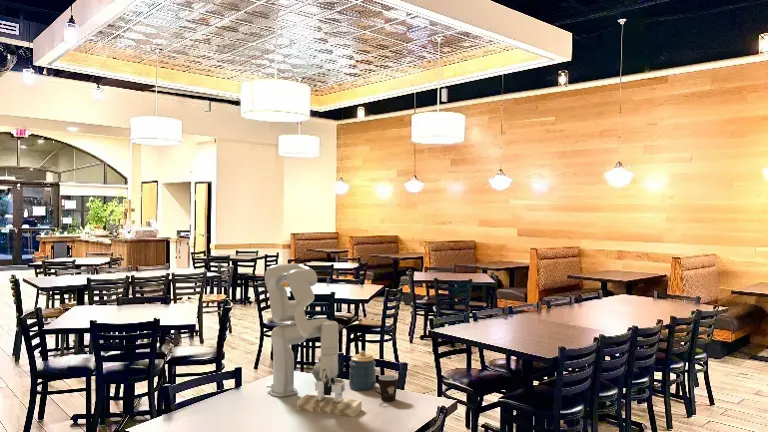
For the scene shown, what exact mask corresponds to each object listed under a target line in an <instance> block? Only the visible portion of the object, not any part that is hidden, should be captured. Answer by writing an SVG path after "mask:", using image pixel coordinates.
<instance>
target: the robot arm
mask: <svg viewBox="0 0 768 432" xmlns="http://www.w3.org/2000/svg"><path fill="white" fill-rule="evenodd" d="M264 283H265V287H266V289H267V292H268V297H269V303H270V304H269V306H270V311H271V313H270V314H271V318H272V320H273V321H274V322H275V323H285V322H291V323H288V324H282V325H277V326H275V327H274V328H273V329H272V331H271V333H270V338H271V344H272V355H273V356H272V359H273V360H272V362H273V363H272V367H273V369H272V376H273V377H272V379H273V380H272V382H269V381H268V382H266V385H265V388H269V389H270V390H269V394H270V396H273V397H279V398H282V397H283V398H285V397H292V396H294V395H296V394H297V393H298V389H297V388H295V384H294V383H295V375H294V374H295V371H294V370H295V369H294V368H295V359H294V358H295V355H294V354H295V353H294V352H293V350H292V348H291V346H292V345H297V344H301V343H303V342H305V341H306V340H307V339H312V338H316V337H318V338H319V337H320V356H321V359H320V379H322V382H323V386H324V395H325V396H327V397H330V396H332V392H331V386H330V383H331V382H335V383H337V376H338V375H339V356H338V355H339V323H338V322H337V321H335V320H329V319H328V318H322V317H321V318H315V319H310V320H309V319H307V316H306V312H305V308H306V307H308V306H309V305H310V304H311V303H313V302H314V300H315V294H314V292H313V290H312V288H311V287H313V286H316V284H317V283H318V275H317V273H316V271H315V270H314V269H312V268H311V267H309V266H306V265H304V264H303V265H302V264H300V263H283V264H282V263H280V264H275V265H270V266H269V267H268V268H267V269H266V271H265V272H264ZM282 283H287V284H288V286H289V289H290V291H291V294H292V296H293V297H294V300H289V296H288V291H287V289H286V287H284V285H283V284H282ZM326 377H328V378H326ZM326 380H328V381H326ZM333 393H334V394H335V392H333Z"/></svg>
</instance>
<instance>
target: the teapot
mask: <svg viewBox="0 0 768 432" xmlns="http://www.w3.org/2000/svg"><path fill="white" fill-rule="evenodd" d="M320 359H321V355H320V356H318V361H317V362H316V363H315V364H314V366H313V367H312V376H313V378H314V379H315V381H316V383H317V382H318V381H322V379H320ZM326 378H328V377H326ZM326 381H328V380H326Z"/></svg>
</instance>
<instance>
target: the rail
mask: <svg viewBox="0 0 768 432" xmlns="http://www.w3.org/2000/svg"><path fill="white" fill-rule="evenodd" d="M362 401H363V400H360V399H350V398H343V397H342V402H341V403H339V404H336V403H335V396H334V397H333V396H331V397H330V396H325V400H323V401H322V402H318V395H314V394H305V395H304V396H302V397H300V398H299V399H297V400H296V410H297V411H303V412H313V413H318V414H319V413H321V414H328V415H338V416H345V417H352V418H353V417H355V416H357V415H358V413H360V412H361V411H362V406H363V405H362Z"/></svg>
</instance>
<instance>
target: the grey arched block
mask: <svg viewBox="0 0 768 432" xmlns="http://www.w3.org/2000/svg"><path fill="white" fill-rule="evenodd" d="M330 386H331V393H334V392H335V393H334V398H335V403H336V404H339V403H341V402H342V398H343V393H344V391H345V389H346V387H345V386H346V385H345V382H336V383H335V382H331V383H330ZM314 391H316V392H317V396H318V402H322V401H323V400H325V397H326V395H324V386H323V382H322V381H318V382H317V381H316V382H315V383H314Z"/></svg>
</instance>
